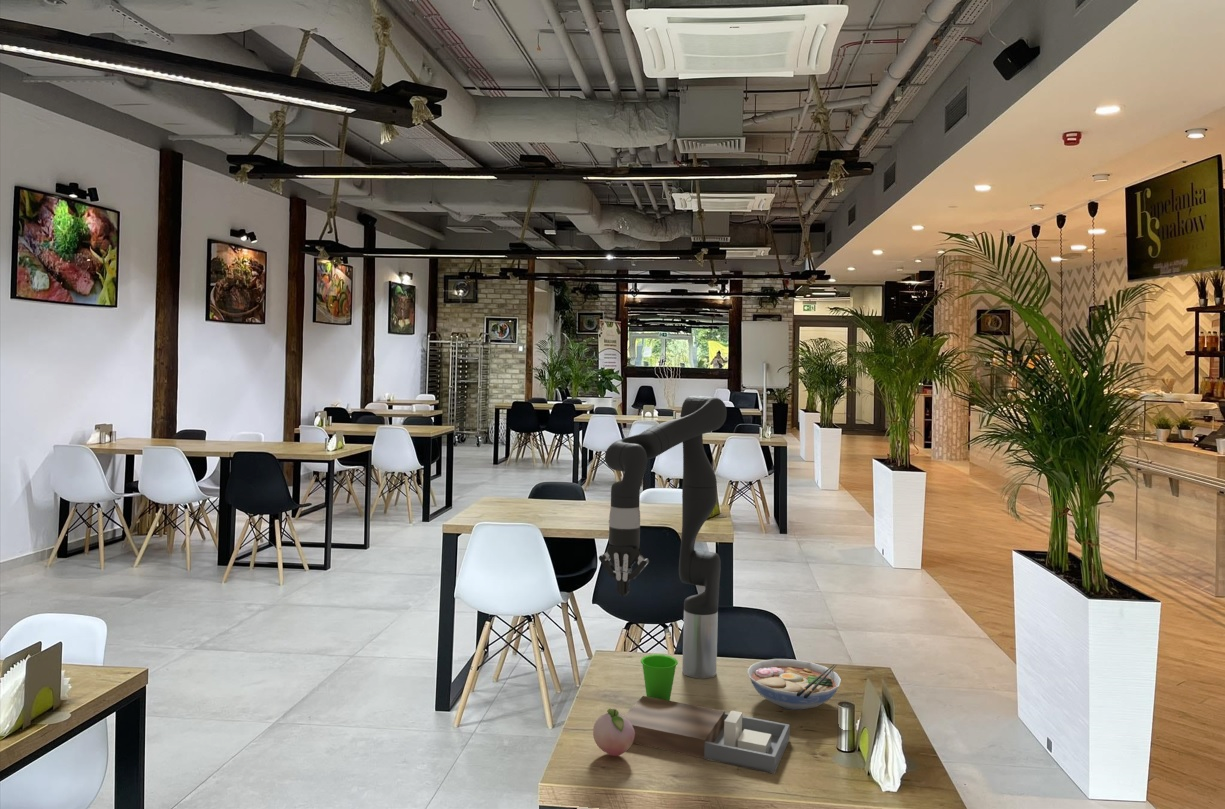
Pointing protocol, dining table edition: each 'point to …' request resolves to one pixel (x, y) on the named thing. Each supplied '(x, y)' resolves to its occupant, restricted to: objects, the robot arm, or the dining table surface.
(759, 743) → the tile
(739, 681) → the dining table surface
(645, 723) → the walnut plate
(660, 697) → the cup
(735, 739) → the tile
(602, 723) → the decorative fruit
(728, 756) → the box
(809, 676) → the ramen bowl
